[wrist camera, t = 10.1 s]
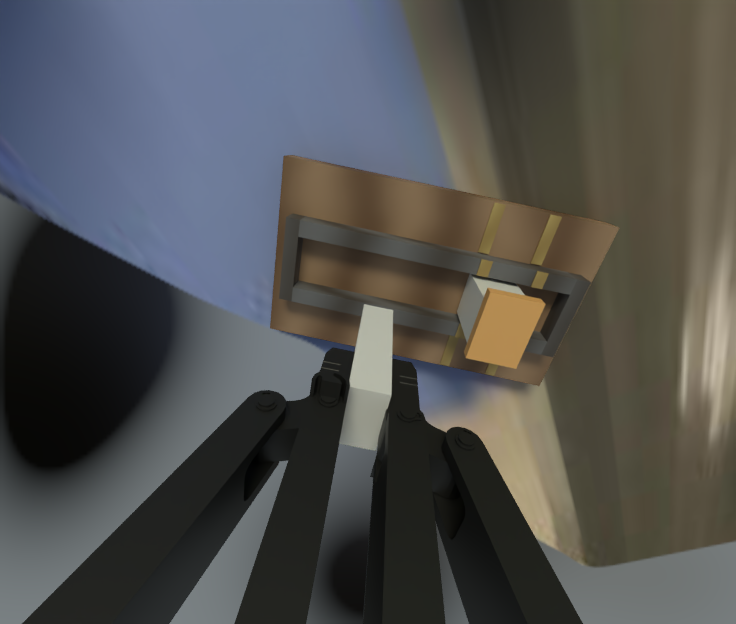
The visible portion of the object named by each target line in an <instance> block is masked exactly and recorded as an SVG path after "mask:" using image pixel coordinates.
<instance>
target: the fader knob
mask: <svg viewBox="0 0 736 624" xmlns="http://www.w3.org/2000/svg"><path fill="white" fill-rule="evenodd" d="M545 305H546V304H545V303H544V302H543V301H542V300H541V299H539V298H534V297H530V296H525V294H524V293H523V292H522V291H521V289H520V288H519V287H518V286H517V285H516V283H512V282H507V281H503V280H498V279H493V278H489V277H482V276H477V275H475V274H469V277H468V280H467V283H466V286H465V289H464V292H463V295H462V298H461V301H460V304H459V307H458V310H457V314H458V317H459V320H460V323H461V326H462V329H463V332H464V335H465V338H466V341H467V345H466V347H465V350H464V354H465V357H466V358H468V359H472V360H477V361H482V362H486V363H491V364H496V365H500V366H505V367H510V368H514V369H516V368H517V366H518V364H519V361H520V359H521V357H522V355H523V353H524V350H525V348H526V346H527V344H528V342H529V339H530V337H531V335H532V333H533V331H534V329H535V326H536V324H537V322H538V320H539V318H540V315H541V313H542V311H543V309H544V307H545Z"/></svg>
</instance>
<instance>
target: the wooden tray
mask: <svg viewBox="0 0 736 624" xmlns="http://www.w3.org/2000/svg"><path fill="white" fill-rule="evenodd" d="M618 230H619V227H616V226H614V225H611V224H608V223H606V222H602V221H597V220H592V219H588V218H583V217H578V216H574V215H569V214H564V213H560V212H555V211H550V210H546V209H541V208H536V207H532V206H527V205H522V204H518V203H513V202H508V201H504V200H499V199H494V198H490V197H485V196H480V195H476V194H471V193H466V192H462V191H457V190H452V189H447V188H443V187H438V186H433V185H429V184H424V183H419V182H415V181H410V180H405V179H401V178H396V177H391V176H387V175H382V174H377V173H373V172H368V171H363V170H359V169H354V168H349V167H345V166H340V165H335V164H331V163H326V162H321V161H317V160H312V159H307V158H303V157H298V156H293V155H288V156H284V159H283V172H282V185H281V197H280V210H279V223H278V235H277V248H276V261H275V273H274V286H273V299H272V311H271V324H270V328H271V329H276V330H280V331H285V332H290V333H294V334H299V335H304V336H308V337H313V338H318V339H323V340H327V341H332V342H337V343H341V344H346V345H351V346H356V342H357V337H358V332H359V327H360V322H361V317H362V312H363V308H364V304H366V305H371V306H376V307H380V308H385V309H390V310H393V342H392V354H393V355H397V356H402V357H407V358H411V359H416V360H421V361H425V362H430V363H435V364H439V365H444V366H449V367H453V368H458V369H463V370H467V371H472V372H477V373H481V374H486V375H491V376H495V377H500V378H505V379H509V380H514V381H519V382H523V383H528V384H533V385H537V386H540V384H541V382H542V380H543V378H544V376H545V374H546V372H547V370H548V368H549V366H550V364H551V362H552V360H553V358H554V356H555V354H556V352H557V350H558V348H559V346H560V344H561V342H562V340H563V338H564V336H565V334H566V332H567V330H568V328H569V326H570V324H571V322H572V320H573V318H574V317H575V315H576V313H577V311H578V309H579V307H580V305H581V303H582V301H583V299H584V297H585V295H586V293H587V291H588V289H589V287H590V285H591V283H592V281H593V279H594V277H595V275H596V273H597V271H598V269H599V267H600V265H601V263H602V261H603V259H604V257H605V255H606V253H607V251H608V249H609V247H610V245H611V243H612V241H613V239H614V238H615V236H616V234H617V232H618ZM469 274H475V275H477V276H482V277H489V278H493V279H498V280H503V281H507V282H512V283H516V285H517V286H518V287H519V288H520V289H521V291H522V292H523V293H524V294H525V296H530V297H534V298H539V299H541V300H542V301H543V302H544V303H545V304H546V305H545V307H544V309H543V311H542V313H541V315H540V318H539V320H538V322H537V324H536V326H535V329H534V331H533V333H532V335H531V337H530V339H529V342H528V344H527V346H526V348H525V350H524V353H523V355H522V357H521V359H520V361H519V364H518V366H517V368H516V369H514V368H510V367H505V366H500V365H496V364H491V363H486V362H482V361H477V360H472V359H468V358H466V357H465V354H464V350H465V347H466V345H467V341H466V338H465V335H464V332H463V329H462V326H461V323H460V320H459V317H458V314H457V310H458V307H459V304H460V301H461V298H462V295H463V292H464V289H465V286H466V283H467V280H468V277H469Z"/></svg>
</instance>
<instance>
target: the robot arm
mask: <svg viewBox="0 0 736 624" xmlns="http://www.w3.org/2000/svg"><path fill="white" fill-rule="evenodd" d="M392 342H393V310H390V309H385V308H380V307H376V306H371V305H366V304H364V308H363V312H362V317H361V322H360V327H359V332H358V337H357V342H356V346H355V351H354V352H352V351H347V350H342V349H337V348H331V349H330V350H329V351H328V352H327V353H326V354H325V357H324V360H323V364H322V367H321V370H320V372H318V373H316V374H315V375H314V376H313V378H312V383H311V390H310V395H309V396H308V397H306V398H305V399H301V400H296V401H286V400H285V398H284V397H283V396H282V395H281V394H279V393H277V392H274V391H270V390H268V391H267V390H266V391H259V392H256V393H254V394H252V395H251V396H249V397H248V398H247V399H246V400H245V401H244V402H243V403H242V404H241V405H240V406H239V407H238V408H237V409H236V410H235V411H234V412H233V413H232V414H231V415H230V416H229V417H228V418H227V419H226V420H225V421H224V422H223V423H222V424H221V425H220V426H219V427H218V428H217V429H216V430H215V431H214V432H213V433H212V434H211V435H210V436H209V437H208V438H207V439H206V440H205V441H204V442H203V443H202V444H201V445H200V446H199V447H198V448H197V449H196V450H195V451H194V452H193V453H192V454H191V455H190V456H189V457H188V458H187V459H186V460H185V461H184V462H183V463H182V464H181V465H180V466H179V467H178V468H177V469H176V470H175V471H174V472H173V473H172V475H170V476H169V477H168V478H167V479H166V480H165V481H164V482H163V483H162V484H161V485H160V486H159V487H158V488H157V489H156V490H155V491H154V492H153V493H152V494H151V496H149V497H148V498H147V499H146V500H145V501H144V503H142V504H141V505H140V506H139V507H138V508H137V509H136V510H135V511H134V512H133V513H132V514H131V515H130V516H129V517H128V518H127V519H126V520H125V521H124V522H123V524H121V525H120V526H119V527H118V528H117V529H116V530H115V531H114V532H113V533H112V534H111V535H110V536H109V537H108V538H107V539H106V540H105V541H104V542H103V543H102V544H101V545H100V546H99V547H98V548H97V549H96V550H95V551H94V552H93V553H92V554H91V555H90V556H89V558H87V559H86V560H85V561H84V562H83V563H82V564H81V565H80V566H79V567H78V568H77V569H76V570H75V571H74V572H73V573H72V574H71V575H70V576H69V578H67V579H66V580H65V582H63V584H61V585H60V586H59V587H58V588H57V589H56V590H55V591H54V593H52V594H51V595H50V596H49V597H48V598H47V599H46V600H45V601H44V602H43V603H42V604H41V605H40V607H38V609H36V610H35V611H34V612H33V613H32V614H31V615H30V616H29V617H28V618H27V619H26V620H25V621H24V622H23V623H22V624H169V623H170V622H171V620H172V619H173V617H174V616H175V614H176V613H177V612H178V610H179V609H180V607H181V605H182V604H183V603H184V601H185V600H186V598H187V597H188V595H189V594H190V592H191V591H192V590H193V588H194V587H195V585H196V584H197V582H198V581H199V579H200V578H201V576H202V575H203V573H204V572H205V571H206V569H207V568H208V566H209V565H210V563H211V562H212V560H213V559H214V557H215V556H216V555H217V553H218V551H219V550H220V549H221V547H222V546H223V544H224V543H225V541H226V540H227V539H228V537H229V536H230V534H231V533H232V531H233V529H234V528H235V527H236V525H237V524H238V522H239V521H240V519H241V518H242V517H243V515H244V514H245V512H246V511H247V509H248V508H249V506H250V505H251V503H252V502H253V501H254V499H255V498H256V496H257V494H258V493H259V492H260V490H261V489H262V487H263V486H264V484H265V483H266V482H267V480H268V479H269V477H270V476H271V474H272V473H273V471H274V470H275V468H276V467H277V465H278V463H279V461H286V460H288V463H287V467H286V470H285V473H284V476H283V479H282V482H281V485H280V488H279V491H278V494H277V497H276V500H275V503H274V506H273V509H272V512H271V515H270V518H269V521H268V525H267V527H266V530H265V533H264V536H263V539H262V542H261V545H260V549H259V551H258V554H257V558H256V560H255V564H254V566H253V569H252V572H251V575H250V579H249V582H248V585H247V588H246V591H245V594H244V597H243V600H242V603H241V606H240V609H239V612H238V615H237V618H236V621H235V624H306V620H307V615H308V609H309V604H310V599H311V593H312V587H313V582H314V577H315V571H316V566H317V561H318V555H319V550H320V544H321V539H322V533H323V528H324V523H325V517H326V511H327V506H328V500H329V495H330V490H331V484H332V479H333V474H334V468H335V462H336V457H337V452H338V446H339V444H344V445H349V446H354V447H359V448H364V449H369V450H374V451H376V448H377V444H378V449H377V456H376V459H375V463H374V466H373V469H372V473H371V476H370V477H373V489H372V503H371V517H370V531H369V545H368V560H367V574H366V587H365V601H364V616H363V624H445V614H444V604H443V594H442V584H441V574H440V563H439V553H438V543H437V533H436V524H437V527H438V530H439V533H440V536H441V539H442V542H443V545H444V548H445V551H446V554H447V557H448V560H449V564H450V566H451V569H452V573H453V575H454V579H455V582H456V585H457V588H458V591H459V594H460V597H461V600H462V603H463V606H464V609H465V612H466V615H467V618H468V621H469V624H583V623H582V621H581V620H580V618H579V616H578V614H577V612H576V611H575V609H574V607H573V605H572V603H571V601H570V599H569V598H568V596H567V594H566V592H565V590H564V589H563V587H562V585H561V583H560V582H559V580H558V578H557V576H556V574H555V572H554V570H553V569H552V567H551V565H550V563H549V561H548V560H547V558H546V556H545V554H544V552H543V551H542V549H541V547H540V545H539V543H538V541H537V540H536V538H535V536H534V534H533V532H532V531H531V529H530V527H529V525H528V523H527V522H526V520H525V518H524V516H523V514H522V513H521V511H520V509H519V507H518V505H517V503H516V502H515V500H514V498H513V496H512V494H511V493H510V491H509V489H508V487H507V485H506V484H505V482H504V480H503V478H502V476H501V474H500V473H499V471H498V469H497V467H496V465H495V464H494V462H493V460H492V458H491V456H490V455H489V453H488V451H487V449H486V447H485V445H484V444H483V442H482V441H481V439H480V438H479V437H478V436H477V435H476V434H475V433H473V432H472V431H470V430H468V429H466V428H462V427H453V428H451V429H449V430H448V431H447V433H446V432H444V431H442V430H440V429H437V428H435V427H434V426H432V425H430V424H429V423H428V422H427V421H426V420H425V417H424V414H423V413H422V412H421V411H420V407H419V395H418V386H417V385H418V383H417V372H416V369H415V368H414V366H413V365H412V363H411V362H406V361H401V360H396V359H392ZM435 521H436V523H435Z"/></svg>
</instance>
